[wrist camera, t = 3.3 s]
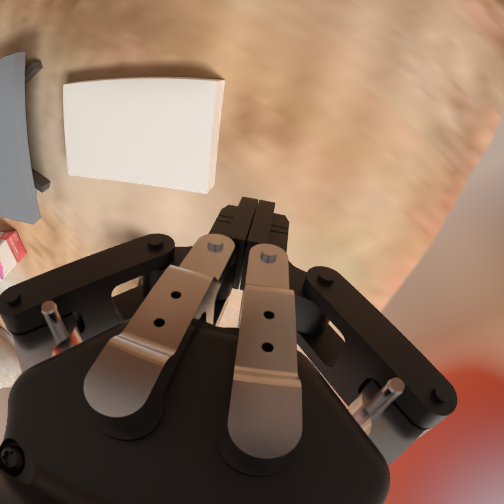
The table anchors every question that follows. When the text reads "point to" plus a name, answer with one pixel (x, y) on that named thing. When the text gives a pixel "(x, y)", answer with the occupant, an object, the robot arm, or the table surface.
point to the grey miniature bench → (17, 143)
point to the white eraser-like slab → (144, 130)
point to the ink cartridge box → (10, 251)
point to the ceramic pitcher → (8, 360)
